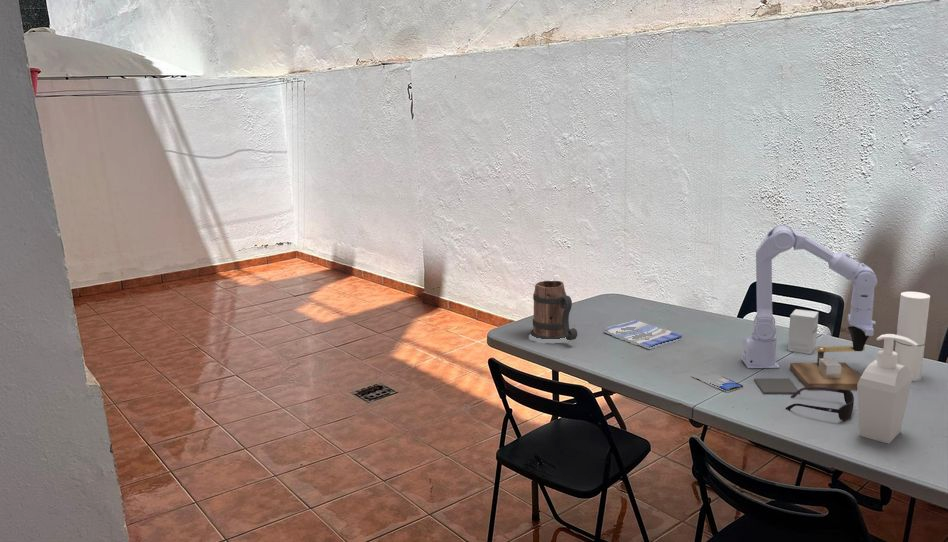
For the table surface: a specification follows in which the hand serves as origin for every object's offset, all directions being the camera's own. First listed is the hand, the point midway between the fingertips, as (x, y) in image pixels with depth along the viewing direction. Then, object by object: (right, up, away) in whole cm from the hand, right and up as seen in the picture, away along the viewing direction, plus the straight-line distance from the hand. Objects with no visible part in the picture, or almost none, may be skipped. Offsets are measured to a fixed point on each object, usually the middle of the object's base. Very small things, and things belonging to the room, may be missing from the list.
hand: (858, 350), depth 208 cm
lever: (-4, 0, +2) cm, 5 cm away
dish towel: (-55, 0, +42) cm, 69 cm away
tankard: (-86, -1, +43) cm, 96 cm away
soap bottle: (-14, -17, -36) cm, 42 cm away
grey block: (-11, -7, -4) cm, 13 cm away
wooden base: (-11, -8, -2) cm, 14 cm away
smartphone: (-42, -10, 0) cm, 44 cm away
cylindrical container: (+13, -7, -3) cm, 15 cm away
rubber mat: (-27, -10, -6) cm, 30 cm away
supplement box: (-7, -2, +22) cm, 23 cm away
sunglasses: (-22, -14, -21) cm, 33 cm away
